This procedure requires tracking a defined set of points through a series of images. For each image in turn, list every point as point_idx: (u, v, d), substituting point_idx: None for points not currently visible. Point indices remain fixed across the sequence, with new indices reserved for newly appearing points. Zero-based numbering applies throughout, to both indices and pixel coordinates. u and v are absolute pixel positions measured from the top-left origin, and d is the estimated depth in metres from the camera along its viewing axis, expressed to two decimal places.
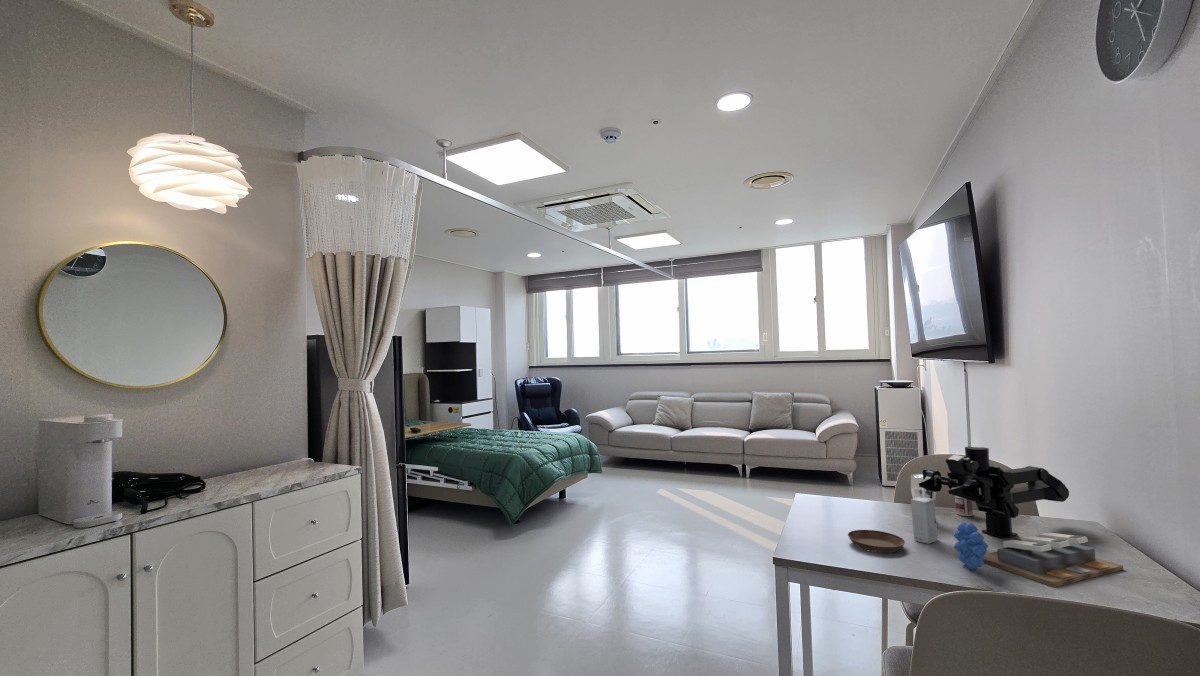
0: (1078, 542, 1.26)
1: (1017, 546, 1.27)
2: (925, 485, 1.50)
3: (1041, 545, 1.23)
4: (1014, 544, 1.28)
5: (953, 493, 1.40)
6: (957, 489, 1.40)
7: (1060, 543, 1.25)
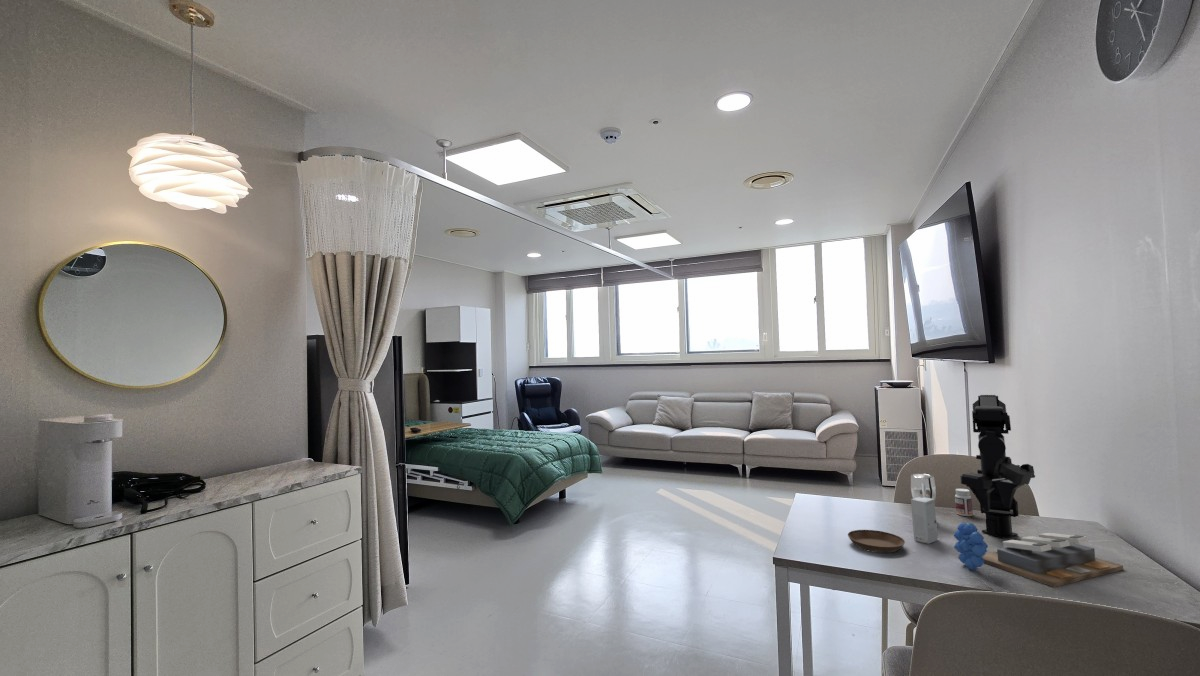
0: (1078, 542, 1.26)
1: (1017, 546, 1.27)
2: None
3: (1041, 545, 1.23)
4: (1014, 544, 1.28)
5: None
6: None
7: (1060, 543, 1.25)
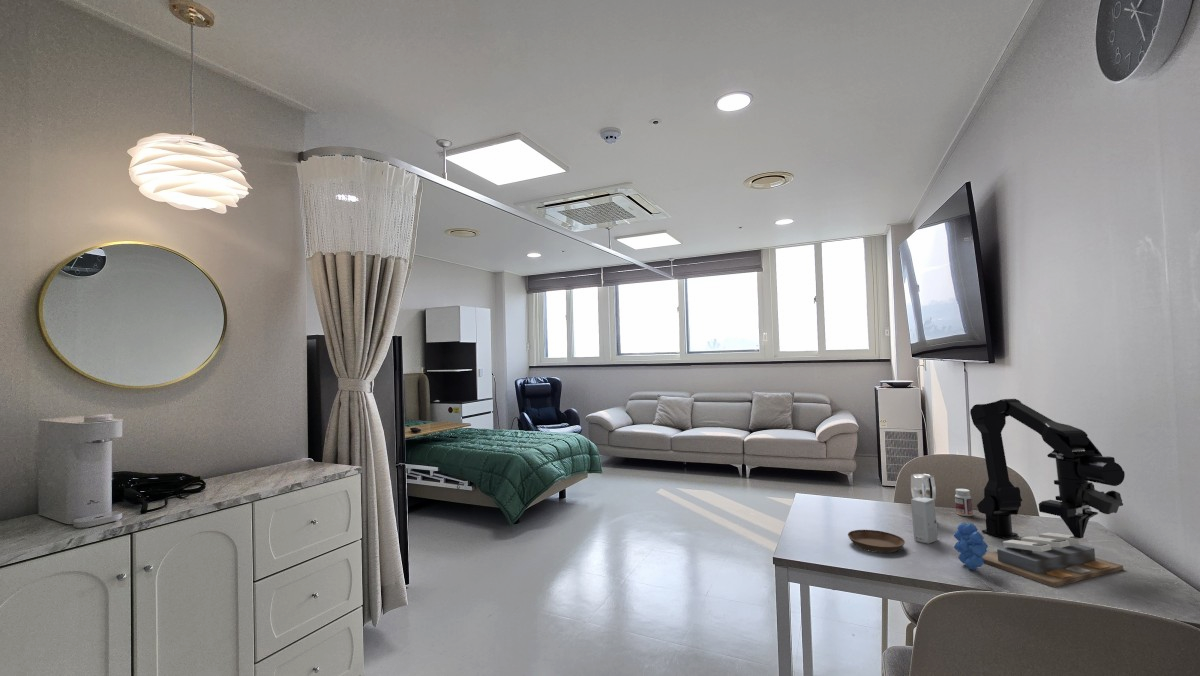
0: (1078, 542, 1.26)
1: (1017, 546, 1.27)
2: None
3: (1041, 545, 1.23)
4: (1014, 544, 1.28)
5: None
6: None
7: (1060, 543, 1.25)
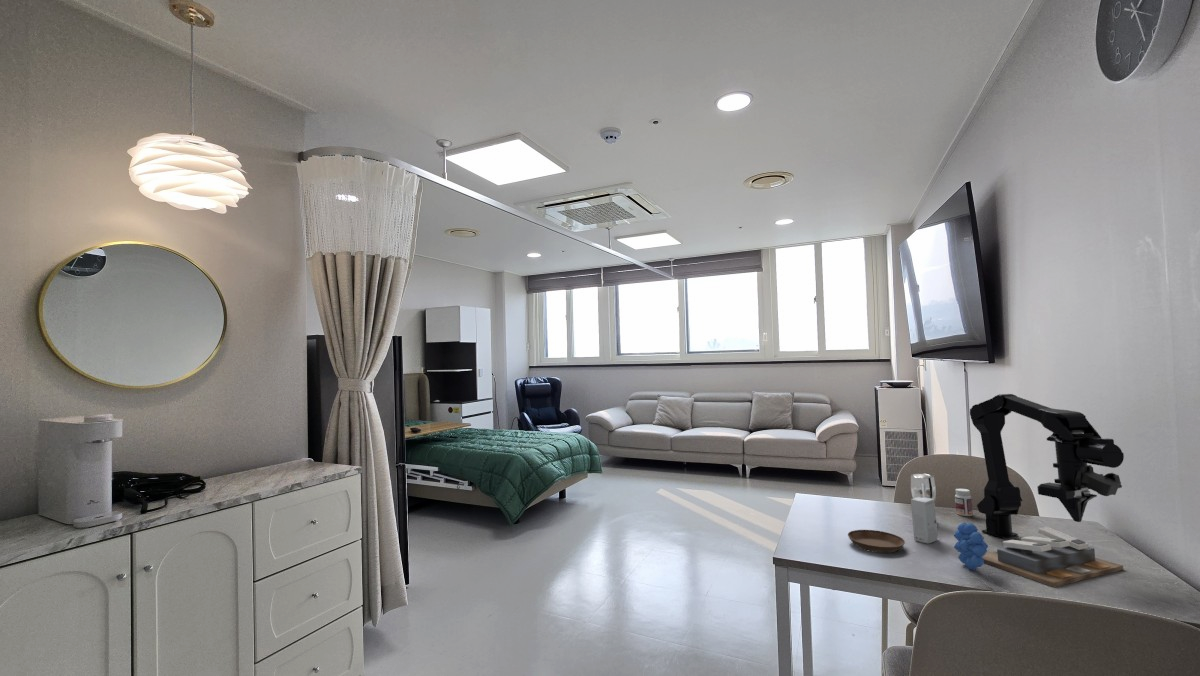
0: (1078, 548, 1.26)
1: (1017, 546, 1.27)
2: None
3: (1041, 545, 1.23)
4: (1014, 544, 1.28)
5: None
6: None
7: (1060, 543, 1.25)
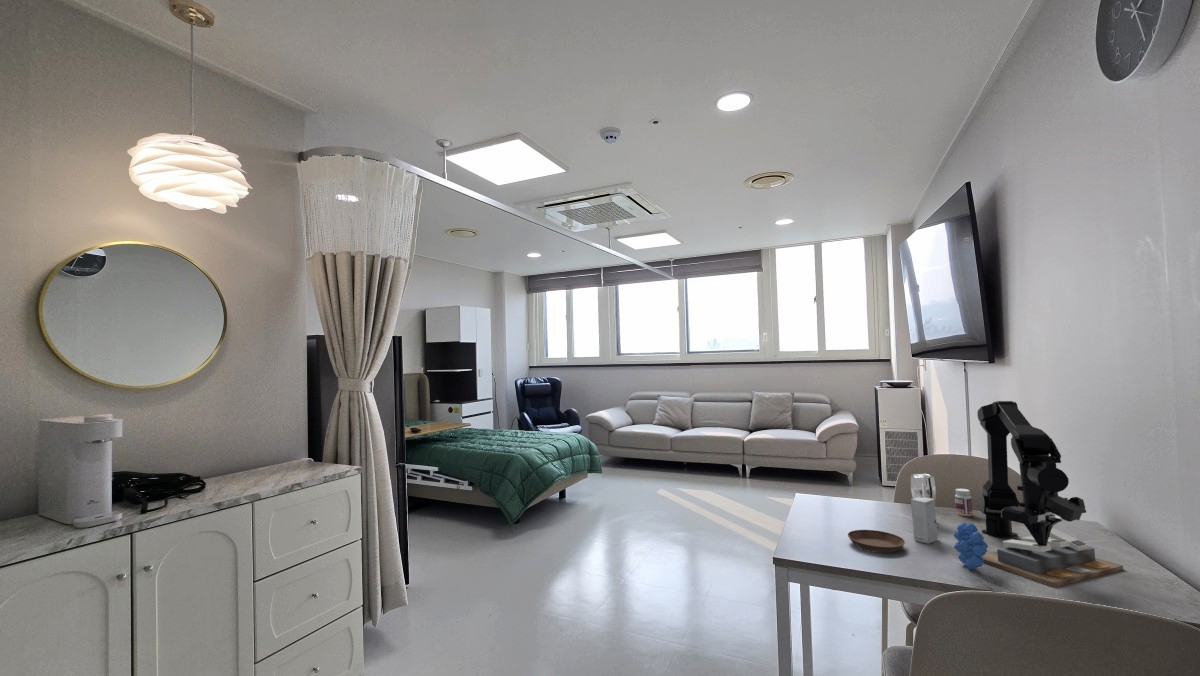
0: (1078, 550, 1.27)
1: (1017, 546, 1.27)
2: None
3: (1041, 545, 1.23)
4: (1014, 544, 1.28)
5: None
6: None
7: (1060, 543, 1.25)
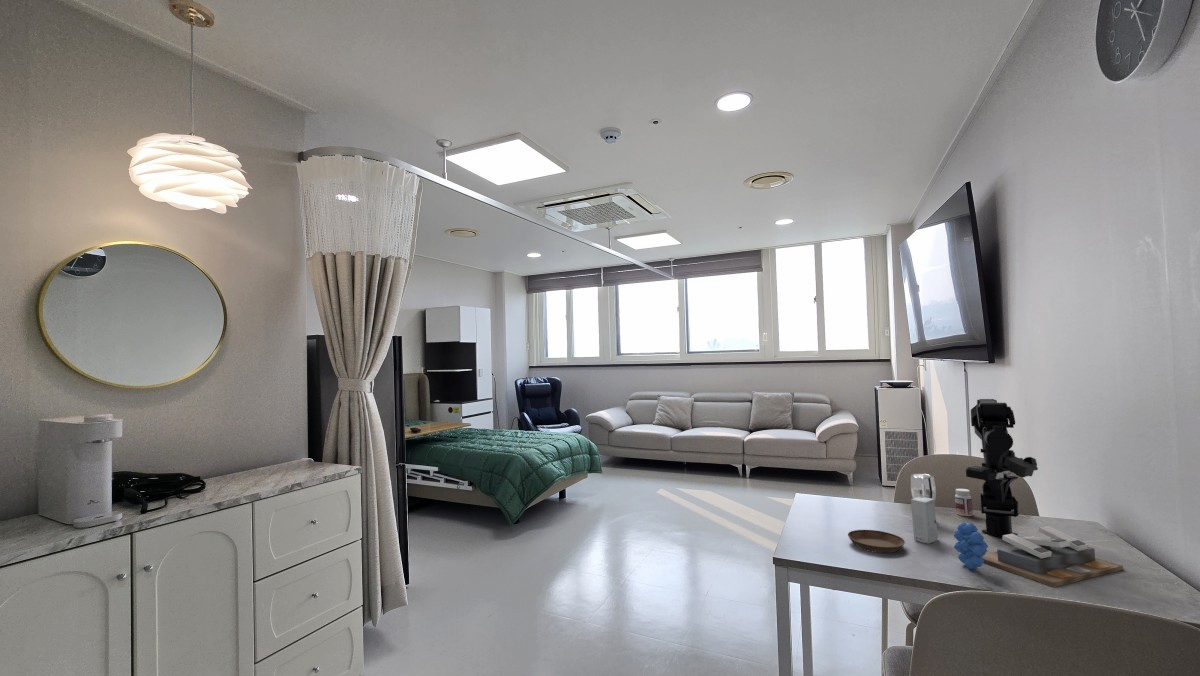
0: (1078, 549, 1.27)
1: (1017, 544, 1.27)
2: None
3: (1043, 552, 1.23)
4: (1015, 542, 1.28)
5: None
6: None
7: (1060, 543, 1.25)
